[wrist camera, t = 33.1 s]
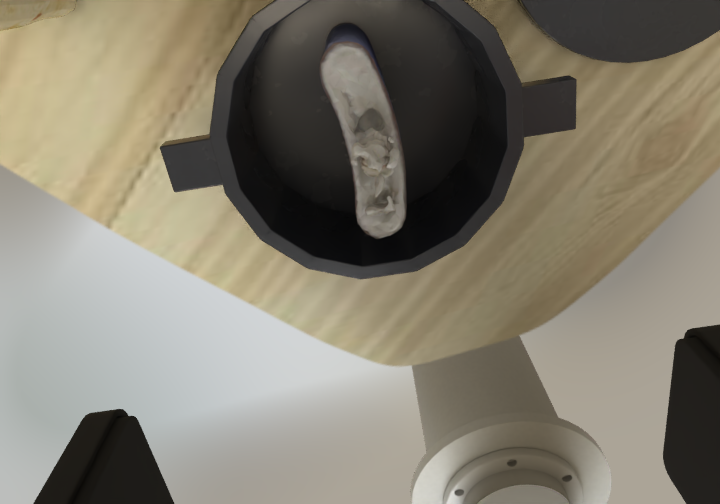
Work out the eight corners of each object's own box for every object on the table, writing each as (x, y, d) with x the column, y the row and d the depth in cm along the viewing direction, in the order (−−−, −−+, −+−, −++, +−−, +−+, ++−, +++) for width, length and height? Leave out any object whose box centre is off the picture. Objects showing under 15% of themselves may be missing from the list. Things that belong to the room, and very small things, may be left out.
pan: (536, 196, 36) (579, 247, 30) (229, 243, 37) (204, 303, 30) (530, -63, 30) (585, -72, 23) (160, 2, 31) (109, 12, 24)
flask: (319, 28, 31) (309, 55, 21) (371, 14, 31) (385, 36, 21) (359, 184, 35) (365, 265, 26) (405, 173, 35) (429, 251, 25)
